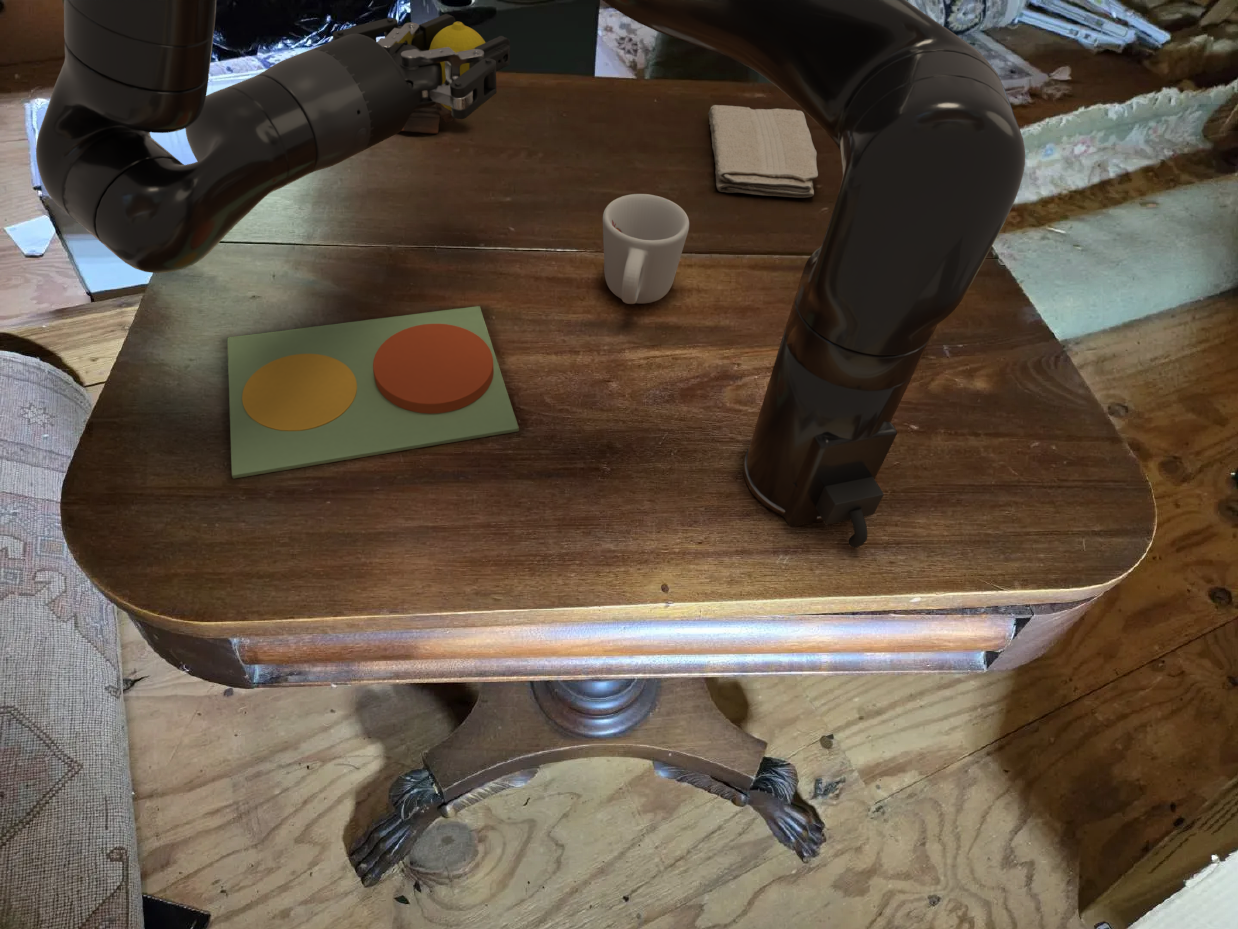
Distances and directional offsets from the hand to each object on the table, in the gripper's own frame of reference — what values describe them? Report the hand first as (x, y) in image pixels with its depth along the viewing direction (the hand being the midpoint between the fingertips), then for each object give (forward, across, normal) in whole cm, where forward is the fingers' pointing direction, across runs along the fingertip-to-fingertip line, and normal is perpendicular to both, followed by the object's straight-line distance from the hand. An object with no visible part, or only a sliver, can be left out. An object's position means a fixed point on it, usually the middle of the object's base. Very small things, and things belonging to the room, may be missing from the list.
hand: (478, 38), depth 73 cm
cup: (+2, -18, +20) cm, 26 cm away
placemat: (-23, -7, +20) cm, 31 cm away
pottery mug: (+14, +20, +19) cm, 31 cm away
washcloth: (+33, -15, +19) cm, 41 cm away
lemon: (-3, 0, +6) cm, 7 cm away
